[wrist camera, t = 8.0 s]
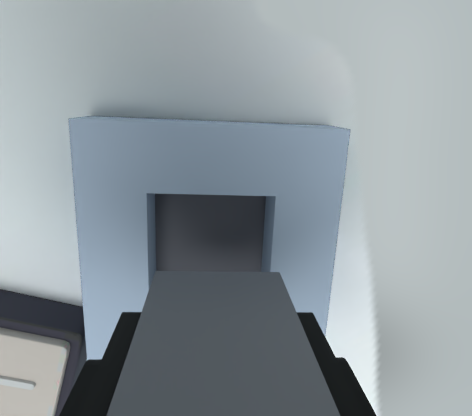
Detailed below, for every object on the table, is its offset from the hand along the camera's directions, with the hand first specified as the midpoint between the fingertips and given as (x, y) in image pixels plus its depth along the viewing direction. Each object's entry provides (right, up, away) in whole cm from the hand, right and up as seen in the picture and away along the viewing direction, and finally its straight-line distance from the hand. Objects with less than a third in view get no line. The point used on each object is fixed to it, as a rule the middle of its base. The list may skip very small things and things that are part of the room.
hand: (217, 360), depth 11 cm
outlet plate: (-1, +3, +10) cm, 10 cm away
